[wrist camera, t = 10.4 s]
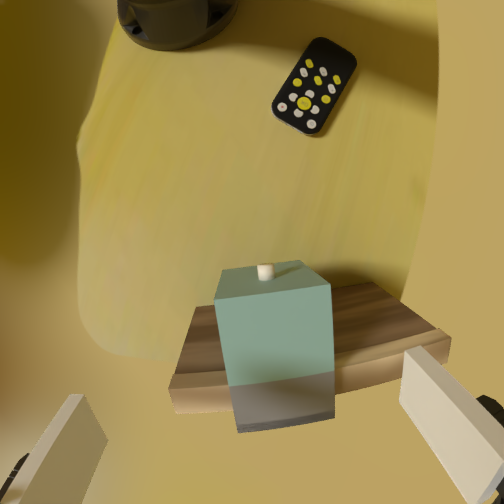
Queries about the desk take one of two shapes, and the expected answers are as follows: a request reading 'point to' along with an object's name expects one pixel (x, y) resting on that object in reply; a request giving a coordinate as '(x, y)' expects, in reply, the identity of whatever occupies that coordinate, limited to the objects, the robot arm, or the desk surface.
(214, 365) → the wall board
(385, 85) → the desk surface
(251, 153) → the desk surface
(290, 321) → the cabinet
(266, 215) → the desk surface
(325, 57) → the remote control
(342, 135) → the desk surface
